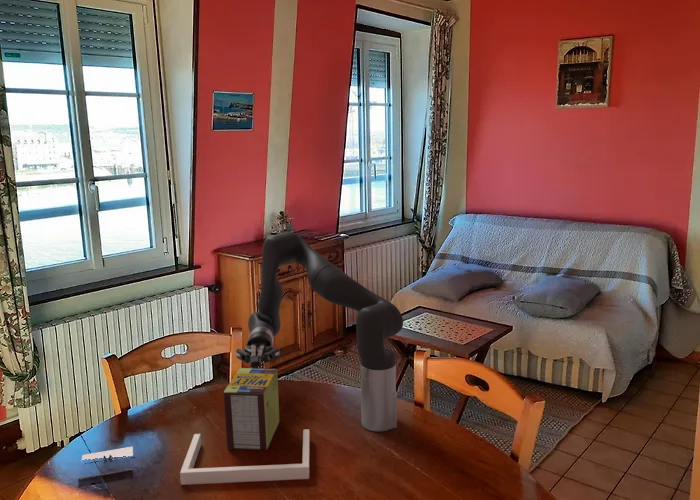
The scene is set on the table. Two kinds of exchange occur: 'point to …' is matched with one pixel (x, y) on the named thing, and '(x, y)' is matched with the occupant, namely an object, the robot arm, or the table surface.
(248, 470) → the u-shaped bracket
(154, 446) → the table surface
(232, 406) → the protein box
